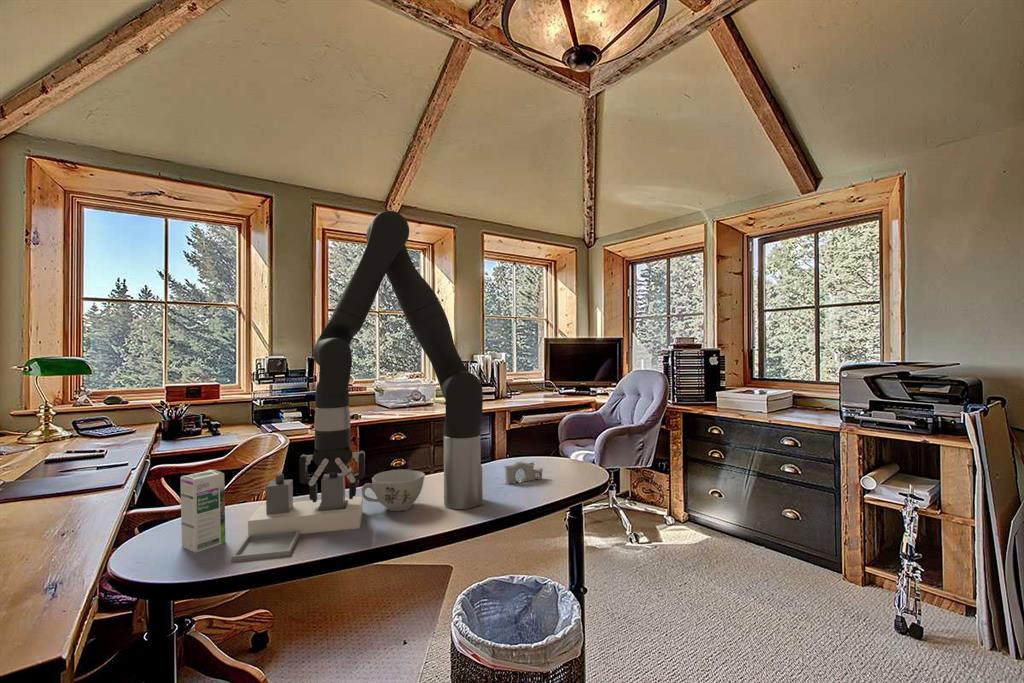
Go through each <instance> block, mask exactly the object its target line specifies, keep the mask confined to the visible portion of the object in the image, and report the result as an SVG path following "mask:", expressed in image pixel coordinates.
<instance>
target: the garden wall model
mask: <svg viewBox="0 0 1024 683" xmlns="http://www.w3.org/2000/svg"><path fill="white" fill-rule="evenodd" d="M534 466H535V462H533V461H532V462H527V463H526V462H524V461H517V462H515V463H514V464H512V465H505V466H504V469H505V484H506V483H507V484H506V485H509V484H508V483H513V484H515V483H514V482H519V481H520V480H521V482H523V483H524V481H526V482H530V481H529V480H532V481H536V480H535V479H538V480H542V479H543V470H544V469H543V468H538V469H537V468H536V469H534V468H535V467H534Z"/></svg>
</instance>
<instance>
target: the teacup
mask: <svg viewBox="0 0 1024 683" xmlns="http://www.w3.org/2000/svg"><path fill="white" fill-rule="evenodd" d="M425 476H426V474H425V473H424V472H422V471H419V470H413V469H403V468H401V469H391V470H388V471H387V470H386V471H382V472H381V471H380V472H378V473H377V474H374V476H373V477H371V481H372V482H371V483H370V482H367V483H364V484H363V485H362V487H361V496H363V499H365V501H367V502H373V503H374V502H375V503H378V504H381V505H382V506H383V507H385V508H386V510H388V511H390V512H402V510H403V511H407V510H409V509H410V508H411V507H412V506H413V504H414V503H415V502H416V501H417V499H418V498H419V496H420V494H421V492H422V489H423V486H424V480H425ZM368 488H370V489H371V491H372V492H373V493H374V494H375V496H376V498H373V497H369V496H367V495H366V494H365V492H366V490H367V489H368ZM408 508H409V509H408Z"/></svg>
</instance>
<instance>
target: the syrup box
mask: <svg viewBox="0 0 1024 683" xmlns="http://www.w3.org/2000/svg"><path fill="white" fill-rule="evenodd" d="M225 485H226V484H225V473H224V472H222V471H219V470H217V469H208V470H206V471H205V470H204V471H202V472H195V473H191V474H187V475H181V476H180V514H181V516H180V519H181V520H180V522H181V525H180V526H181V547H182V548H184V549H186V550H188V551H191V552H193V553H195V554H196V553H199V552H203V551H205V550H209V549H211V548H214V547H216V546H219V545H223V544H225V543H226V503H225V502H226V497H225V496H226V495H225V490H226V489H225Z"/></svg>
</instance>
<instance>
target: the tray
mask: <svg viewBox="0 0 1024 683" xmlns="http://www.w3.org/2000/svg"><path fill="white" fill-rule="evenodd" d="M300 536H301V534H300V530H298V531H288V532H277V533H267V534H256V535H248V534H247V535H246V536H245V538H244V539H243V541H242V542H241V544H240V545H239V546H238V547H237V548H236V550H235V551H234V552H233V553H232V555H231V556H230V562H231V563H233V562H242V561H254V560H262V559H270V558H272V559H273V558H281V557H289V556H291V554H292V553H293V550H294V548H295V545H296V543H297V542H298V540H299V537H300Z"/></svg>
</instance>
